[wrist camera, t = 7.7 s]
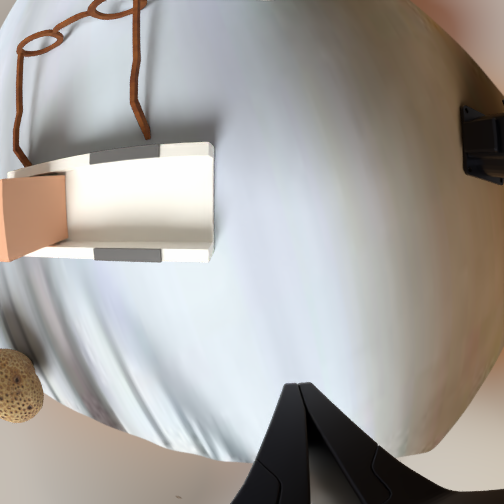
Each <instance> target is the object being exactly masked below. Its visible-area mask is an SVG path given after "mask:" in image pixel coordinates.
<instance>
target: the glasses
mask: <svg viewBox="0 0 504 504" xmlns="http://www.w3.org/2000/svg"><path fill="white" fill-rule="evenodd" d="M104 1H106V0H94V1H93V2H92V3H91V4H90V5H89V7H88V10H87V11H85V12H81V13H78V14H76V15H74V16H72V17H70V18H68V19H66V20H65V21H63V22H61V23H59V24H58V25H56V26H55V27H54V29H53V30H50V29H49V30H44V31H40V32H37V33H35V34H32V35H30V36H28V37H27V38H25V39H24V40H23V41H21V42H20V43H19V45H18V46H17V51H16V52H17V54H18V59H17V75H16V112H17V113H16V118H15V123H14V128H13V151H14V153H15V154H16V156H17V157H18V159H19V160H20V161H21V163H22V164H23V166H24V167H29V166H32V164H31V163H30V161H29V160H28V158H27V157H26V155H25V154H24V153H23V151H22V150H21V148H20V147H19V127H20V122H21V117H22V113H23V97H22V84H23V61H24V56H25V57H31V56H37V55H41V54H44V53H46V52H48V51H50V50H52V49H54V48H55V47H57V46H59V45H60V44H61V43H62V42H63V35H62V33H60V32H58V31H59V30H60V29H62V28H64V27H65V26H67V25H69V24H71V23H73V22H75V21H77V20H79V19H81V18H84V17H87V16H92V17H94V18H98V19H102V20H111V19H117V18H121V17H124V16H127V15H130V14H133V63H132V69H131V76H130V105H131V107H132V110H133V112H134V114H135V117H136V119H137V121H138V124H139V126H140V128H141V130H142V133H143V135H144V137H145V139H146V140H148V139H150V138H151V136H150V127H149V125H148V123H147V120H146V118H145V115H144V113H143V110H142V108H141V106H140V103H139V101H138V75H139V68H140V62H141V53H140V10H142V9H143V8H144V7H145V6H146V4H147V0H133V8H132V9H129V10H127V11H124V12H120V13H115V14H104V13H101V12H99V11H97V10H96V7H97V6H98V5H99V4H101V3H102V2H104ZM43 36H52V37H55V38H57V41H56V42H55V43H54V44H52V45H50V46H48V47H46V48H44V49H41V50H37V51H25V50H23V49H22V48H23V47H24V46H25V45H26V44H27V43H28V42H30V41H32V40H34V39H36V38H39V37H43Z"/></svg>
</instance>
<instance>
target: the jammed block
mask: <svg viewBox="0 0 504 504" xmlns="http://www.w3.org/2000/svg"><path fill="white" fill-rule="evenodd" d="M67 238H68V228H67V214H66V192H65V175H58V176H36V177H21V178H8V179H1V180H0V261H1V262H11V261H13V260H15V259H18V258H20V257H22V256H25V255H27V254H29V253H32V252H34V251H36V250H39V249H41V248H44V247H46V246H49V245H51V244H54V243H56V242H59V241H62V240H64V239H67Z"/></svg>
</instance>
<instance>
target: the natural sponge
mask: <svg viewBox="0 0 504 504" xmlns="http://www.w3.org/2000/svg"><path fill="white" fill-rule="evenodd" d="M43 396H44V395H43V389H42V385H41V382H40V380H39V378H38V376H37V375H36V373H35V369H34V366H33V364H32V362H31V360H30V359H29V358H28V357H27V356H26V355H24V354H23V353H21V352H19V351H16V350H12V349H0V418H2V419H4V420H7V421H10V422H13V423H21V422H25V421H28V420H30V419H31V418H33V417H34V416H35V415H36V414H37V413H38V412H39V411H40V409H41V408H42V406H43V398H44V397H43Z"/></svg>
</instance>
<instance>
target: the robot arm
mask: <svg viewBox="0 0 504 504" xmlns="http://www.w3.org/2000/svg"><path fill="white" fill-rule="evenodd" d="M502 102H503V104H504V99H503V100H502ZM465 111H466V112H465ZM461 118H462V130H463V148H464V172H465V174H466V175H469V176H472V177H476V178H479V179H482V180H485V181H488V182H492V183H495V184H498V185H503V183H504V113H499V114H492V115H484V114H482V113H480V112H478V111H476V110H474V109H472V108H470V107H468V106H462V107H461ZM468 168H469V170H468ZM230 504H504V489H499V490H489V491H472V492H471V491H470V492H458V491H452V490H448V489H445V488H443V487H441V486H439V485H437V484H435V483H433V482H432V481H430V480H428V479H426V478H425V477H423V476H421V475H420V474H418V473H416V472H415V471H413V470H411V469H410V468H408V467H407V466H405V465H404V464H402V463H401V462H399V461H398V460H397V459H396V458H394V457H393V456H392V455H390V454H389V453H388V452H387V451H386V450H384V449H383V448H382V447H381V446H380V445H379V446H378V444H377V443H376V442H375V441H374V440H373V439H372V438H370V437H369V436H368V435H367V434H366V433H365V432H364V431H363V430H361V429H360V428H359V427H358V426H357V425H356V424H355V423H354V422H353V421H351V420H350V419H349V418H348V417H347V416H346V415H345V414H344V413H343V412H342V411H341V410H340V409H338V408H337V407H336V406H335V405H334V404H333V403H332V402H331V401H330V400H329V399H328V398H327V397H326V396H325V395H324V394H323V393H322V392H321V391H319V390H318V389H317V388H316V387H315V386H314V385H313V384H312V383H310V382H305V383H299V384H297V383H286V384H284V386H283V389H282V392H281V395H280V398H279V400H278V403H277V406H276V409H275V411H274V414H273V417H272V419H271V422H270V424H269V427H268V430H267V432H266V435H265V437H264V440H263V442H262V444H261V447H260V449H259V452H258V454H257V456H256V459H255V461H254V463H253V465H252V468H251V470H250V472H249V474H248V476H247V478H246V480H245V482H244V484H243V486H242V487H241V489H240V490H239V492H238V493H237V495H236V496H235V498H234V499H233V501H232V502H231V503H230Z"/></svg>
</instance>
